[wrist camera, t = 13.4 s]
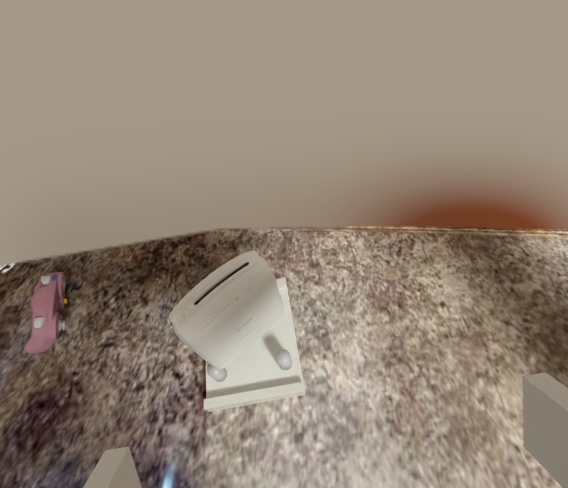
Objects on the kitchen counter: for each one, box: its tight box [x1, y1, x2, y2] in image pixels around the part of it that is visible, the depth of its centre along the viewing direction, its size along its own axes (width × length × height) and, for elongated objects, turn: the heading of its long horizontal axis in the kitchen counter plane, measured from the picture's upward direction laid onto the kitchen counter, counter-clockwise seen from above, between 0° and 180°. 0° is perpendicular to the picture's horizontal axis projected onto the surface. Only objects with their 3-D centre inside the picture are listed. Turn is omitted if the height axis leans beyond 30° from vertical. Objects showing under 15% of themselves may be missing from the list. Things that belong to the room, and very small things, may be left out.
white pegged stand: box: [204, 278, 305, 412], centre depth 39 cm, size 14×11×4 cm
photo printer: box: [168, 250, 283, 370], centre depth 32 cm, size 10×4×12 cm, turn 132°
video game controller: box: [24, 272, 68, 354], centre depth 43 cm, size 10×5×7 cm, turn 16°
